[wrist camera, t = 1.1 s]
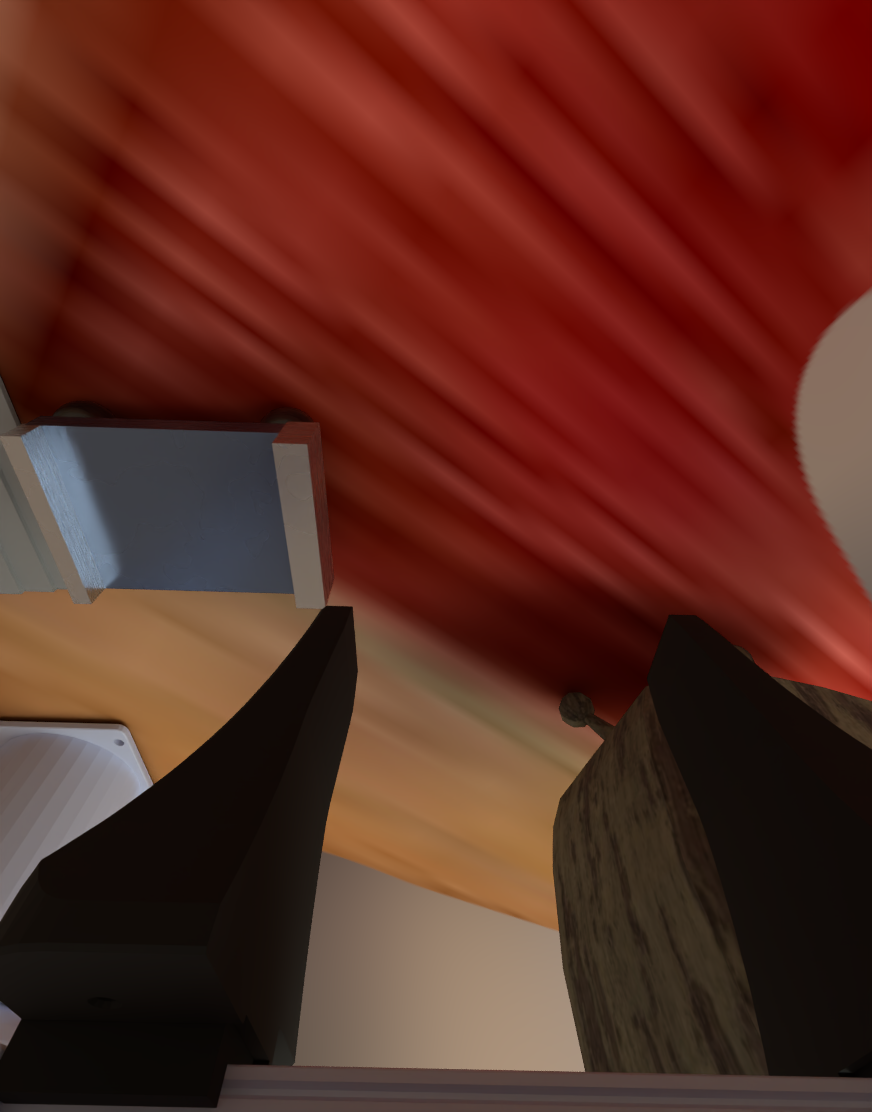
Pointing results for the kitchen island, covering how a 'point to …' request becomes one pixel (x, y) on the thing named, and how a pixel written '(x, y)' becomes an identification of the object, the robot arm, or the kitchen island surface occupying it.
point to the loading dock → (20, 527)
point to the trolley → (178, 502)
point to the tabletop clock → (655, 903)
